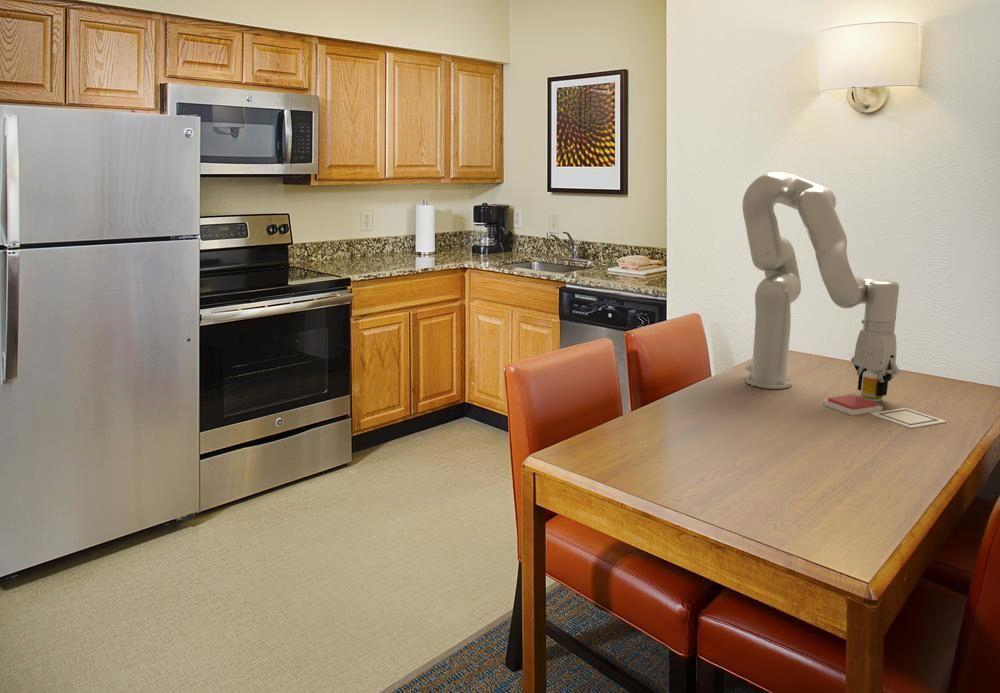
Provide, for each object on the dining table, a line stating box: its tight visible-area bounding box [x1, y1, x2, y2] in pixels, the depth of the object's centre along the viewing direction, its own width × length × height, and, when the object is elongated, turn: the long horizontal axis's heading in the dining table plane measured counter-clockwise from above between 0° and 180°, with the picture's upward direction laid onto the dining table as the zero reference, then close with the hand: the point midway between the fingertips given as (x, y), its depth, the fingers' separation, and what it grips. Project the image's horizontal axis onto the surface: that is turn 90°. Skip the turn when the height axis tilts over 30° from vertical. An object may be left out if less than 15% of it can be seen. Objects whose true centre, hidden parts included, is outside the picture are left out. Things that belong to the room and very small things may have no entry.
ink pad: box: [822, 394, 883, 416], centre depth 202 cm, size 10×10×2 cm
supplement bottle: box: [859, 368, 885, 403], centre depth 208 cm, size 5×5×10 cm
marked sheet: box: [870, 407, 948, 429], centre depth 193 cm, size 12×12×1 cm
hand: (871, 391), depth 209 cm, fingers closed on supplement bottle, 5 cm apart
